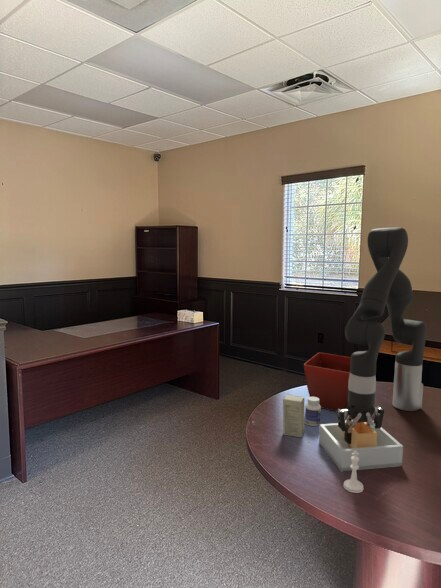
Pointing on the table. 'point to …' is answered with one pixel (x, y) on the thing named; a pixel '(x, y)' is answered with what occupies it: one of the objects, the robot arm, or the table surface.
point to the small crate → (362, 436)
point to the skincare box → (293, 415)
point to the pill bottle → (313, 412)
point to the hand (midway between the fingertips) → (358, 442)
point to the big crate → (360, 449)
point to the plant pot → (328, 380)
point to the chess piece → (354, 476)
